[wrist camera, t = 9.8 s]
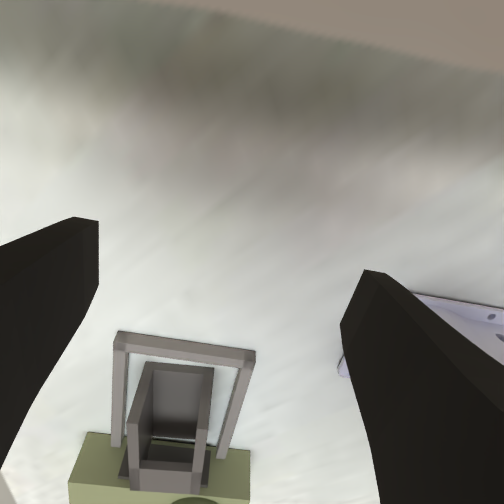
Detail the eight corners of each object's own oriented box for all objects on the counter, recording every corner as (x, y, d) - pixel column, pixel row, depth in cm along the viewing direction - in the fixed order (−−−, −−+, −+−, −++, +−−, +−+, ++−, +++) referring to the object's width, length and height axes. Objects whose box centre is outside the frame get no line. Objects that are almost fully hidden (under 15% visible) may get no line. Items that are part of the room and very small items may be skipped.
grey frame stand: (285, 355, 26) (292, 419, 22) (239, 480, 35) (237, 542, 31) (84, 325, 25) (50, 387, 20) (88, 464, 33) (65, 527, 29)
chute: (146, 360, 27) (126, 423, 22) (214, 366, 27) (208, 429, 23) (146, 426, 31) (130, 490, 26) (205, 431, 31) (199, 494, 27)
